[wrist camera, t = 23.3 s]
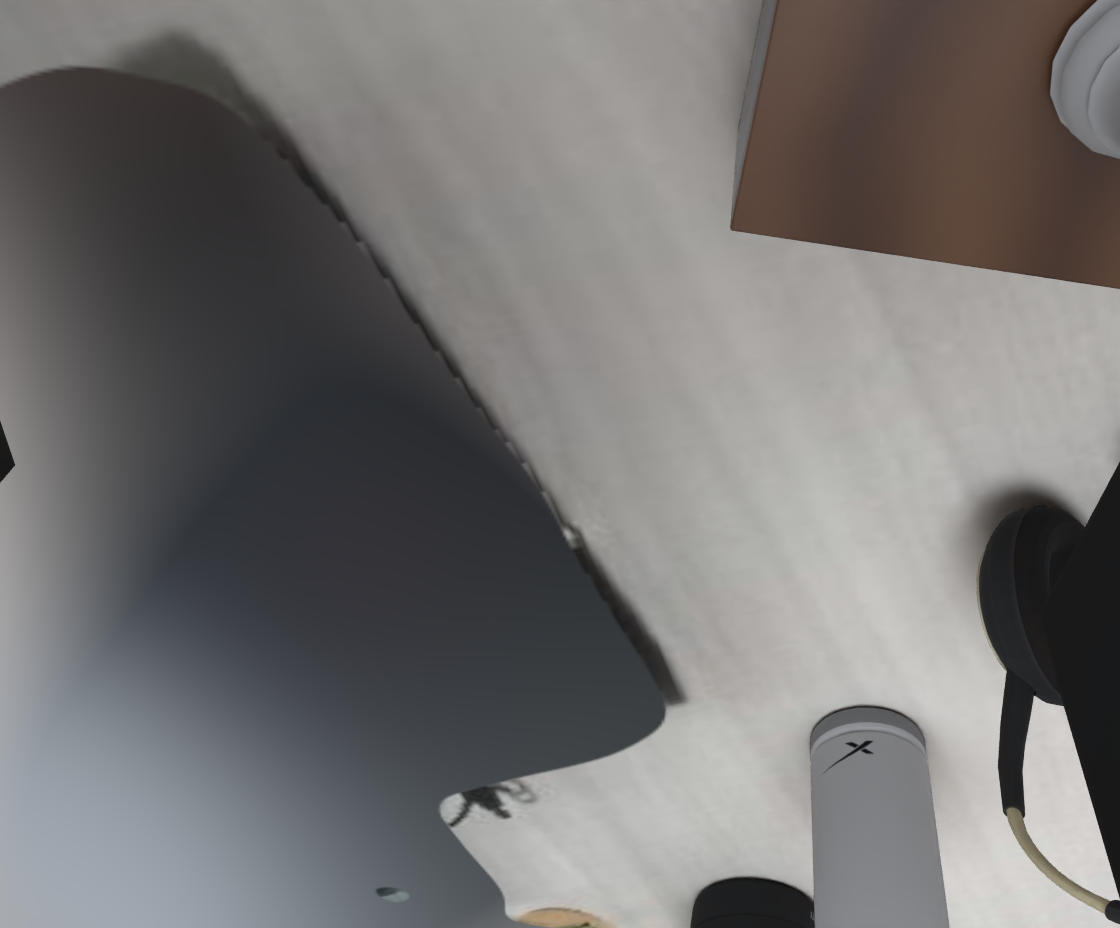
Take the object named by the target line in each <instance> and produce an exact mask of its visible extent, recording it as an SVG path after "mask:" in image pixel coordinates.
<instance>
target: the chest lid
mask: <svg viewBox="0 0 1120 928" xmlns="http://www.w3.org/2000/svg"><path fill="white" fill-rule="evenodd" d="M1096 1H1097V0H775V4H774V9H773V14H772V19H771V24H770V29H769V34H768V39H767V44H766V48H765V53H764V58H763V63H762V68H761V73H760V78H759V83H758V88H757V92H756V97H755V102H754V107H753V112H752V117H751V122H750V127H749V132H748V137H747V141H746V146H745V151H744V156H743V161H742V166H741V171H740V176H739V181H738V186H737V190H736V195H735V200H734V205H733V210H732V215H731V224H730V228H731V230H733V231H739V232H745V233H752V234H759V235H765V236H772V237H779V238H785V239H792V240H799V241H805V242H812V243H818V244H825V245H832V246H838V247H845V248H852V249H858V250H865V251H872V252H878V253H885V254H892V255H898V256H905V257H912V258H918V259H925V260H931V261H938V262H945V263H951V264H958V265H965V266H971V267H978V268H985V269H991V270H998V271H1005V272H1011V273H1018V274H1025V275H1031V276H1038V277H1044V278H1051V279H1058V280H1064V281H1071V282H1078V283H1084V284H1091V285H1098V286H1104V287H1111V288H1118V289H1120V159H1119V158H1115V157H1111V156H1108V155H1104V154H1100V153H1097V152H1094V151H1092V150H1090V149H1089V148H1088V147H1087V146H1086V145H1085V144H1083V143H1082V142H1081V141H1080V140H1079V139H1078V138H1077V137H1075V136H1074V135H1073V134H1072V133H1071V132H1070V130H1069V129H1068V128H1067V127H1066V126H1065V125H1064V124H1063V123H1061V122H1060V119H1059V116H1058V114H1057V111H1056V108H1055V106H1054V103H1053V100H1052V98H1051V95H1050V89H1051V78H1052V67H1053V60H1054V58H1055V56H1056V54H1057V52H1058V50H1059V48H1060V46H1061V44H1062V42H1063V40H1064V38H1065V36H1066V34H1067V32H1068V30H1069V29H1070V27H1071V26H1072V25H1073V24H1074V23H1075V22H1076V21H1077V20H1078V19H1079V18H1080V17H1081V16H1082V15H1083V14H1084V13H1085V12H1086V11H1087V10H1088V9H1089V8H1090V7H1091V6H1092V5H1093V4H1094V3H1095V2H1096Z"/></svg>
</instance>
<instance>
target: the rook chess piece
mask: <svg viewBox="0 0 1120 928" xmlns="http://www.w3.org/2000/svg"><path fill="white" fill-rule="evenodd" d="M1050 95H1051V98H1052V100H1053V103H1054V106H1055V108H1056V111H1057V114H1058V116H1059V119H1060V122H1061V123H1063V124H1064V125H1065V126H1066V127H1067V128H1068V129H1069V130H1070V132H1071V133H1072V134H1073V135H1074V136H1075V137H1077V138H1078V139H1079V140H1080V141H1081V142H1082V143H1083V144H1085V145H1086V146H1087V147H1088V148H1089V149H1090V150H1092V151H1094V152H1097V153H1100V154H1104V155H1108V156H1111V157H1115V158H1119V159H1120V0H1097V1H1096V2H1095V3H1094V4H1093V5H1092V6H1091V7H1090V8H1089V9H1088V10H1087V11H1086V12H1085V13H1084V14H1083V15H1082V16H1081V17H1080V18H1079V19H1078V20H1077V21H1076V22H1075V23H1074V24H1073V25H1072V26H1071V27H1070V29H1069V30H1068V32H1067V34H1066V36H1065V38H1064V40H1063V42H1062V44H1061V46H1060V48H1059V50H1058V52H1057V54H1056V56H1055V58H1054V60H1053V67H1052V78H1051V89H1050Z"/></svg>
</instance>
